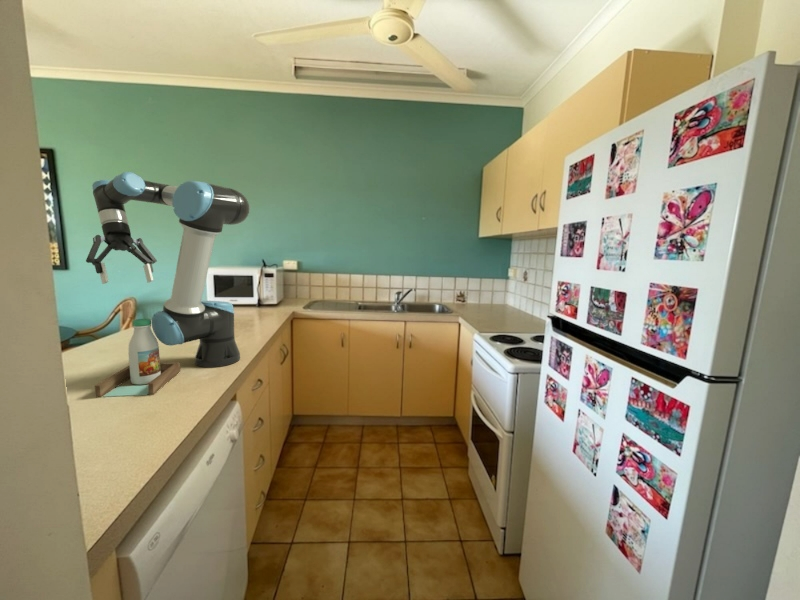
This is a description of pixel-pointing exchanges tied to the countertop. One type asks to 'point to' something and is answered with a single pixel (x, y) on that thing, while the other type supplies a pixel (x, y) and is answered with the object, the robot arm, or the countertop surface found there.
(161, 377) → the bay
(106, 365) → the countertop surface
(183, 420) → the countertop surface
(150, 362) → the milk bottle
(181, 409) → the countertop surface
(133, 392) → the pad
